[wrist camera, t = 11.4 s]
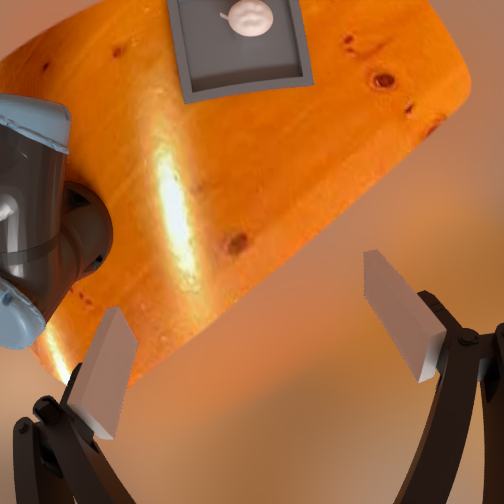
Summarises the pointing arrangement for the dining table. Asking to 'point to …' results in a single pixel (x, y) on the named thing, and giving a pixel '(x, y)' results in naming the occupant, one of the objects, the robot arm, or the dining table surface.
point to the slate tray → (237, 50)
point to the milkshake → (249, 20)
